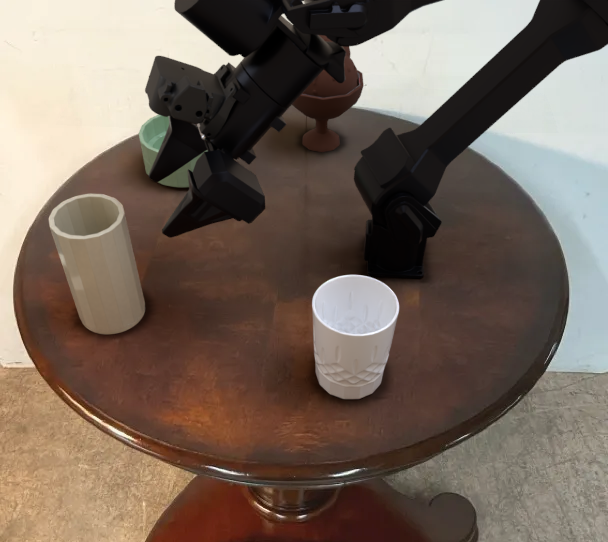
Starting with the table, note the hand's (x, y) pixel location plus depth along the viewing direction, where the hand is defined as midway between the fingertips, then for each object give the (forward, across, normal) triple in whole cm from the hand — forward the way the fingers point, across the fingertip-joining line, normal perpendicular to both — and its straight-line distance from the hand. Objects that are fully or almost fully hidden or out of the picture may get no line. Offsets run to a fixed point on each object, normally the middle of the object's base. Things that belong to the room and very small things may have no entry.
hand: (158, 205), depth 68 cm
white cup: (-2, +15, +20) cm, 25 cm away
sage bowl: (+5, -25, +13) cm, 29 cm away
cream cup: (+14, 0, +4) cm, 15 cm away
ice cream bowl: (-9, -27, +27) cm, 39 cm away
